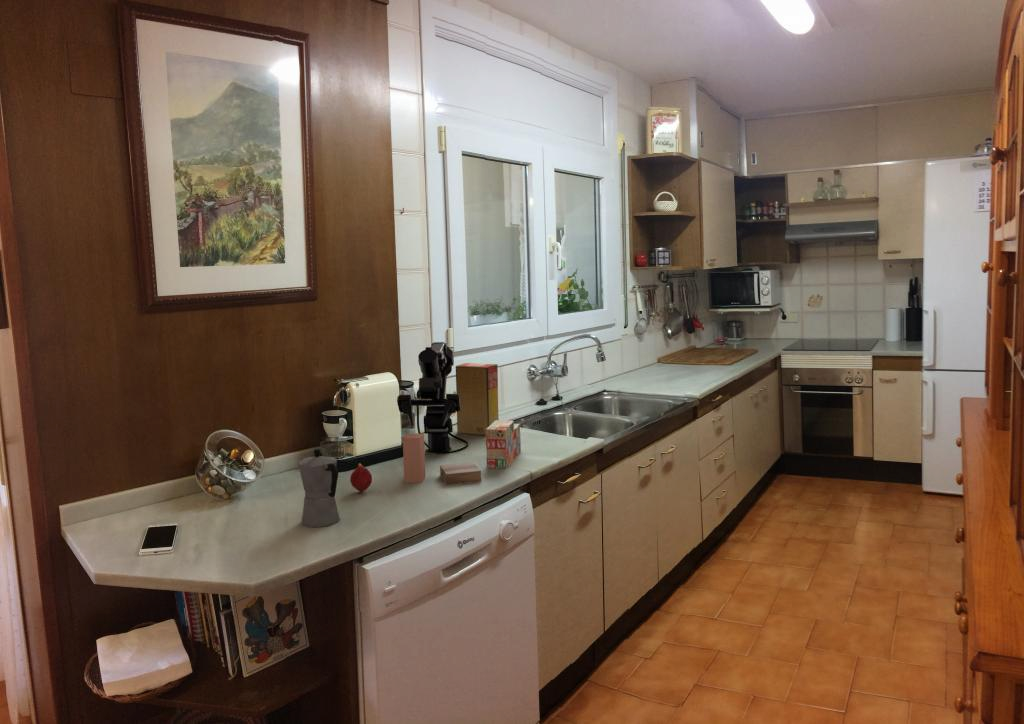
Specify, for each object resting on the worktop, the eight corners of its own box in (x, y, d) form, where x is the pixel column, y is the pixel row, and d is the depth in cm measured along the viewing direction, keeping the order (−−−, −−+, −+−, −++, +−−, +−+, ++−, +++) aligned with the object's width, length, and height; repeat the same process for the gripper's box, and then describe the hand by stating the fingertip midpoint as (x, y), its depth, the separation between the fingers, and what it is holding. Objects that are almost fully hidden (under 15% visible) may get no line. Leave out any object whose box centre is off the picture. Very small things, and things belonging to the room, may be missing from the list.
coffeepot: (290, 519, 185) (285, 448, 183) (324, 510, 192) (320, 441, 189) (321, 535, 174) (317, 459, 172) (357, 524, 181) (353, 451, 178)
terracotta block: (408, 477, 220) (406, 433, 218) (425, 477, 220) (423, 433, 218) (404, 482, 215) (402, 437, 213) (421, 482, 215) (419, 437, 213)
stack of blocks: (502, 450, 249) (501, 414, 248) (521, 451, 248) (520, 414, 246) (486, 468, 229) (485, 428, 227) (506, 469, 227) (505, 428, 226)
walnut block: (440, 476, 221) (439, 465, 221) (473, 473, 224) (473, 462, 224) (446, 486, 212) (446, 474, 211) (481, 482, 214) (481, 470, 214)
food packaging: (500, 430, 279) (498, 363, 275) (489, 436, 270) (487, 367, 267) (468, 428, 284) (466, 362, 281) (456, 433, 276) (454, 365, 272)
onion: (376, 490, 208) (375, 462, 207) (364, 496, 203) (362, 467, 202) (359, 488, 211) (358, 460, 209) (346, 493, 205) (345, 465, 204)
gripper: (397, 368, 228) (391, 409, 217) (458, 366, 227) (456, 408, 217) (402, 391, 236) (397, 431, 226) (461, 390, 236) (459, 430, 225)
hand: (427, 425), depth 223 cm, fingers open, 9 cm apart
